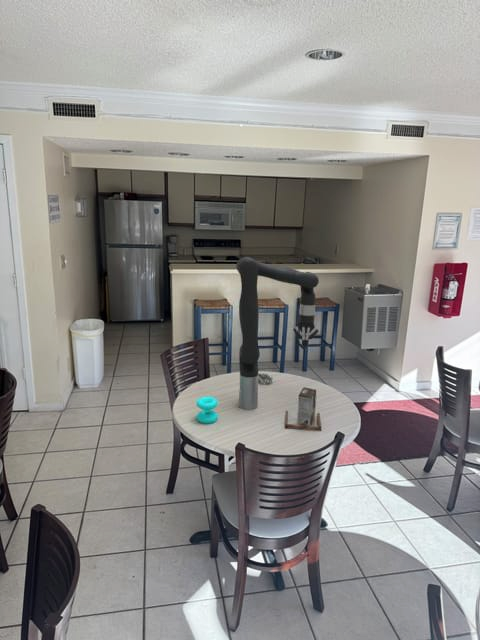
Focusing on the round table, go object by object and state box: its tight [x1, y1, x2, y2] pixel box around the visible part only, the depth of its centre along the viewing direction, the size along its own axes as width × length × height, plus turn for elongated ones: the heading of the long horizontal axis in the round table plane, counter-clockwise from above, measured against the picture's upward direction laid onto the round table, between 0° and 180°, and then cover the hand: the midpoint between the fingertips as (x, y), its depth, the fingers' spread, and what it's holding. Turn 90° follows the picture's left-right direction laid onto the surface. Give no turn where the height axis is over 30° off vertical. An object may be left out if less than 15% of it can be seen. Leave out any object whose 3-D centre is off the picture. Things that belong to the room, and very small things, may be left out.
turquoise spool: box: [196, 396, 219, 424], centre depth 206 cm, size 10×10×10 cm
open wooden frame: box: [284, 410, 322, 432], centre depth 206 cm, size 16×14×2 cm
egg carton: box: [258, 373, 274, 386], centre depth 252 cm, size 11×8×4 cm
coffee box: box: [297, 387, 317, 425], centre depth 203 cm, size 9×6×16 cm
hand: (304, 346), depth 219 cm, fingers closed
